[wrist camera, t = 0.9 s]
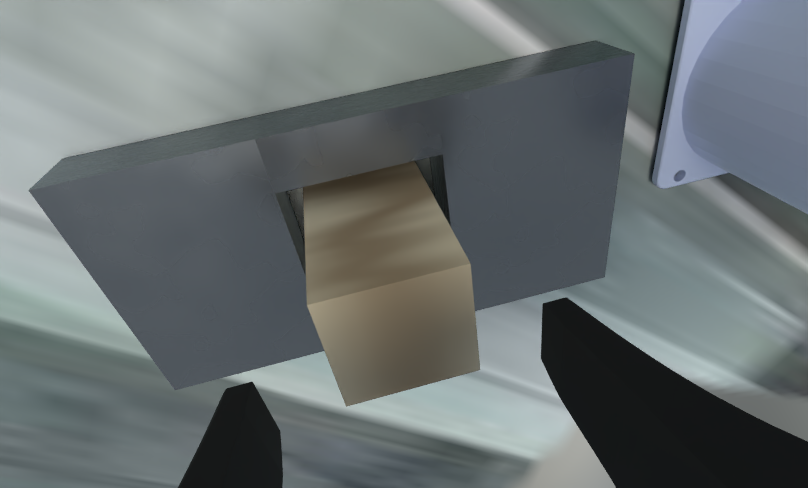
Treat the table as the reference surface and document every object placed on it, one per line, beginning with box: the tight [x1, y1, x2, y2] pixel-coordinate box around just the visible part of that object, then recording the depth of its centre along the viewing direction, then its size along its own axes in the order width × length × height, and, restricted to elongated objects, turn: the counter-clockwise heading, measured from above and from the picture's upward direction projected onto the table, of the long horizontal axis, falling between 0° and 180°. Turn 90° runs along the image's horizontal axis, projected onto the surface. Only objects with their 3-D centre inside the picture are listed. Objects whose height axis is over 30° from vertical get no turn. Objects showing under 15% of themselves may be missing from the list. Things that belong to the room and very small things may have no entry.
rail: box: [29, 41, 634, 390], centre depth 17 cm, size 18×9×2 cm, turn 99°
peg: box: [303, 161, 480, 406], centre depth 15 cm, size 4×4×7 cm
